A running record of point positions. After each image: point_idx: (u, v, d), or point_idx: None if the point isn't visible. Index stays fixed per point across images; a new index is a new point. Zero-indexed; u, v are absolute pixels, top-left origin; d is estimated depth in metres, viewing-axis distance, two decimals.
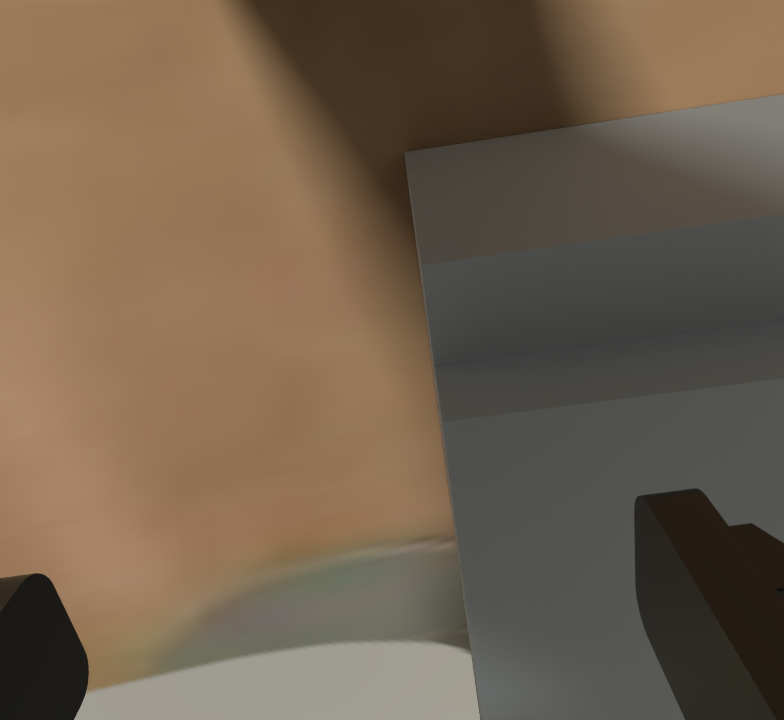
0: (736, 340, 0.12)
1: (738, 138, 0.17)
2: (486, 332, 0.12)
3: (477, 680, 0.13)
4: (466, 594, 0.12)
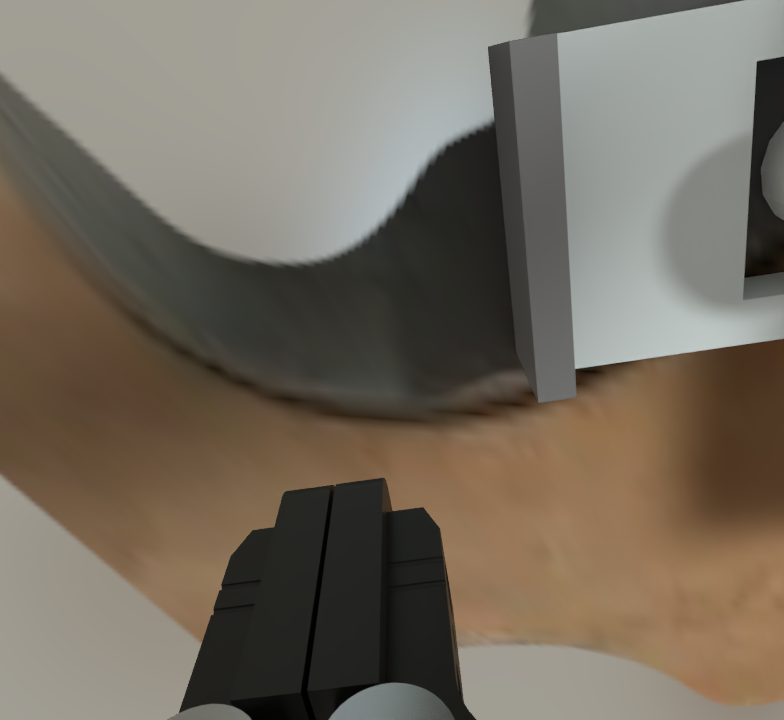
0: None
1: None
2: None
3: None
4: None
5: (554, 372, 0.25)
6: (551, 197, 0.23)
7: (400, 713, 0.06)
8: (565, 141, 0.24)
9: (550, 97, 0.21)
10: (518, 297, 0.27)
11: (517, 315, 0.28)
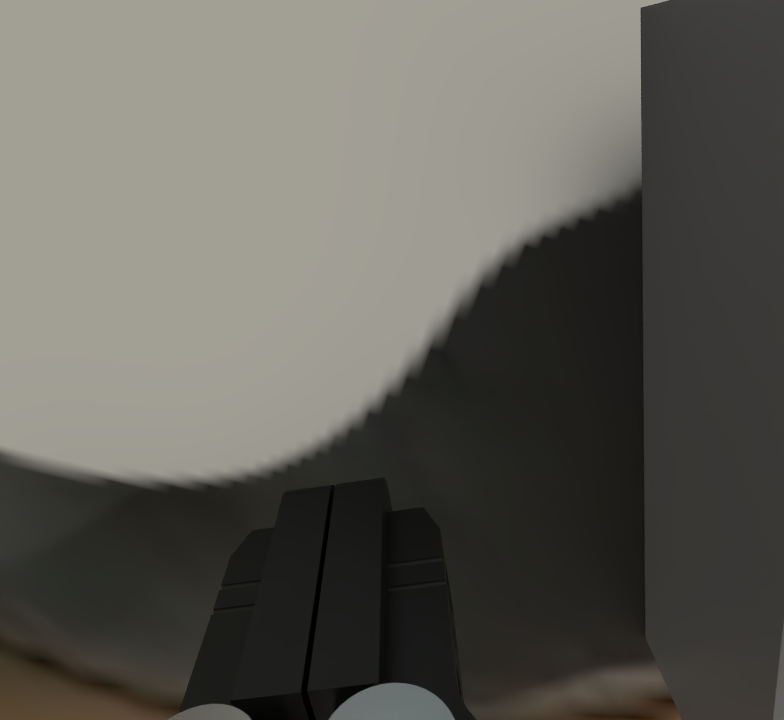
0: None
1: None
2: None
3: None
4: None
5: None
6: None
7: (400, 713, 0.06)
8: None
9: None
10: (688, 593, 0.12)
11: (671, 607, 0.13)
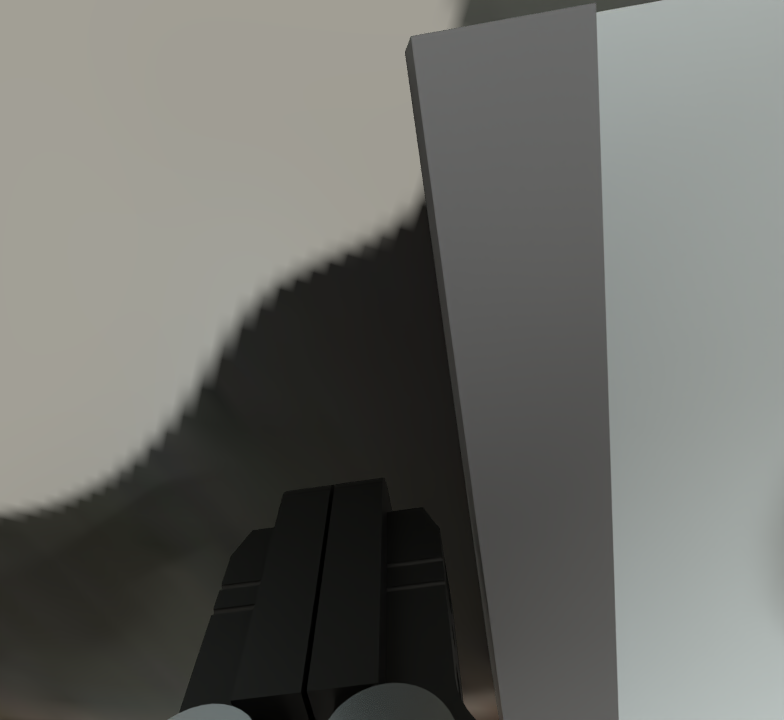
0: None
1: None
2: None
3: None
4: None
5: None
6: (569, 521, 0.07)
7: (400, 713, 0.06)
8: None
9: (568, 235, 0.06)
10: (487, 628, 0.12)
11: None
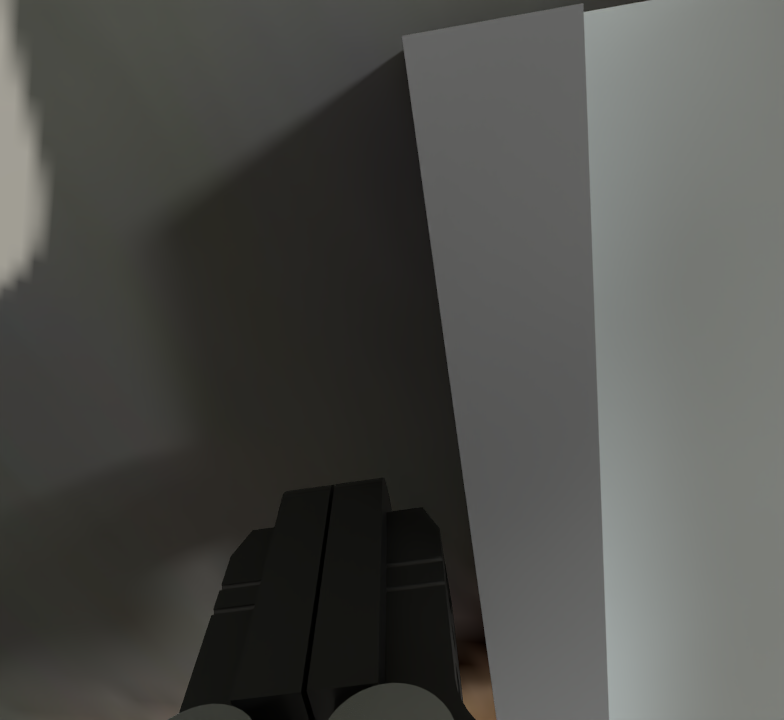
0: None
1: None
2: None
3: None
4: None
5: None
6: (557, 511, 0.07)
7: (400, 713, 0.06)
8: (598, 304, 0.09)
9: (556, 231, 0.06)
10: None
11: None
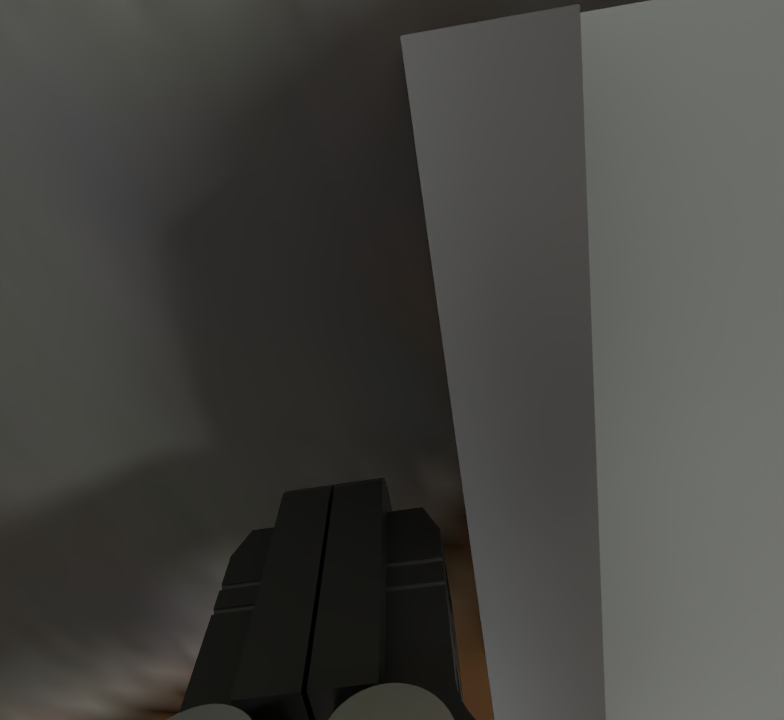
0: None
1: None
2: None
3: None
4: None
5: None
6: (555, 509, 0.07)
7: (400, 713, 0.06)
8: (594, 302, 0.09)
9: (553, 230, 0.06)
10: None
11: None
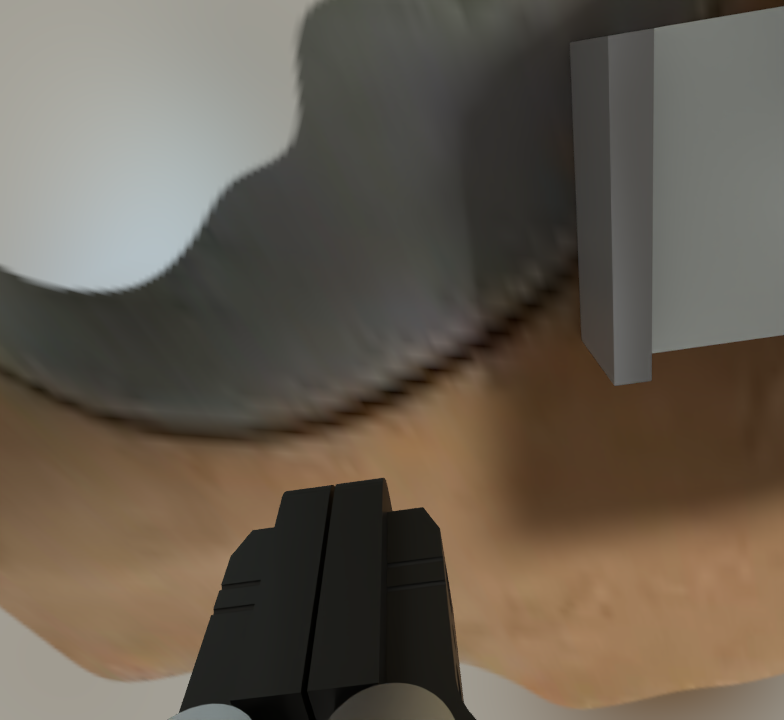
0: None
1: None
2: None
3: None
4: None
5: (632, 356, 0.26)
6: (639, 186, 0.23)
7: (400, 713, 0.06)
8: None
9: (644, 90, 0.22)
10: (592, 284, 0.28)
11: (588, 302, 0.29)
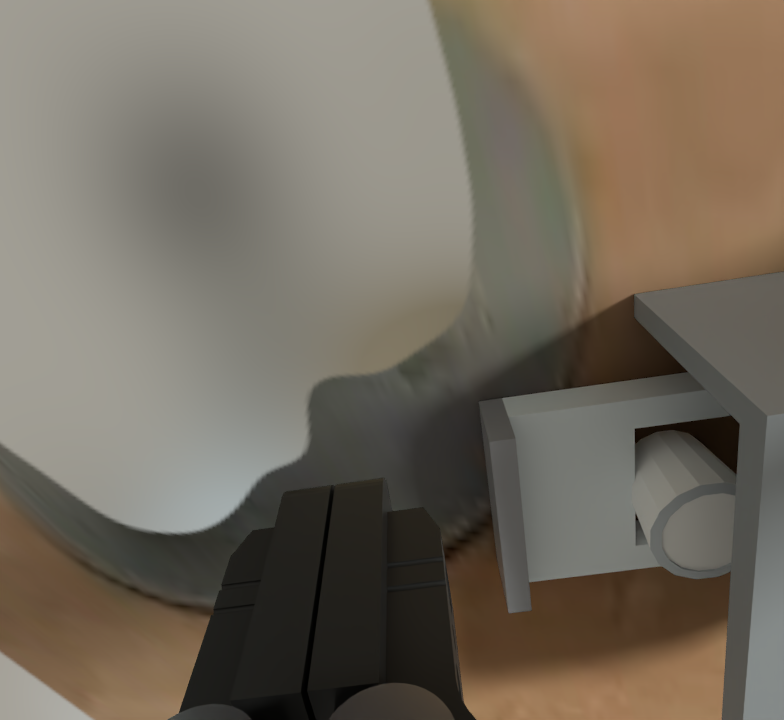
0: None
1: None
2: None
3: None
4: None
5: (518, 597, 0.42)
6: (514, 512, 0.39)
7: (400, 713, 0.05)
8: (524, 466, 0.41)
9: (512, 466, 0.38)
10: (497, 542, 0.43)
11: (497, 547, 0.44)
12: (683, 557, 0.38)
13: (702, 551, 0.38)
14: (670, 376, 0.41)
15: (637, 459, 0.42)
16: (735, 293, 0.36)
